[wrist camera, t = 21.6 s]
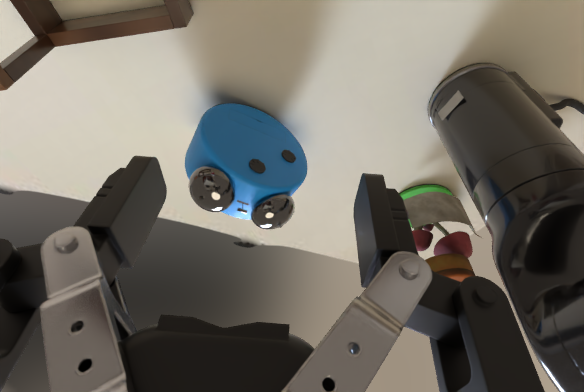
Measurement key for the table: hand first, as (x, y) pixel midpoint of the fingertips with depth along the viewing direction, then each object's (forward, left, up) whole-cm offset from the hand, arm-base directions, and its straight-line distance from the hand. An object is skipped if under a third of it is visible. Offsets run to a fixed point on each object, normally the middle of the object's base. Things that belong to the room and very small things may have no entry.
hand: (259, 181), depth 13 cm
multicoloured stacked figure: (-19, +35, -26) cm, 48 cm away
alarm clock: (+6, +15, -26) cm, 31 cm away
